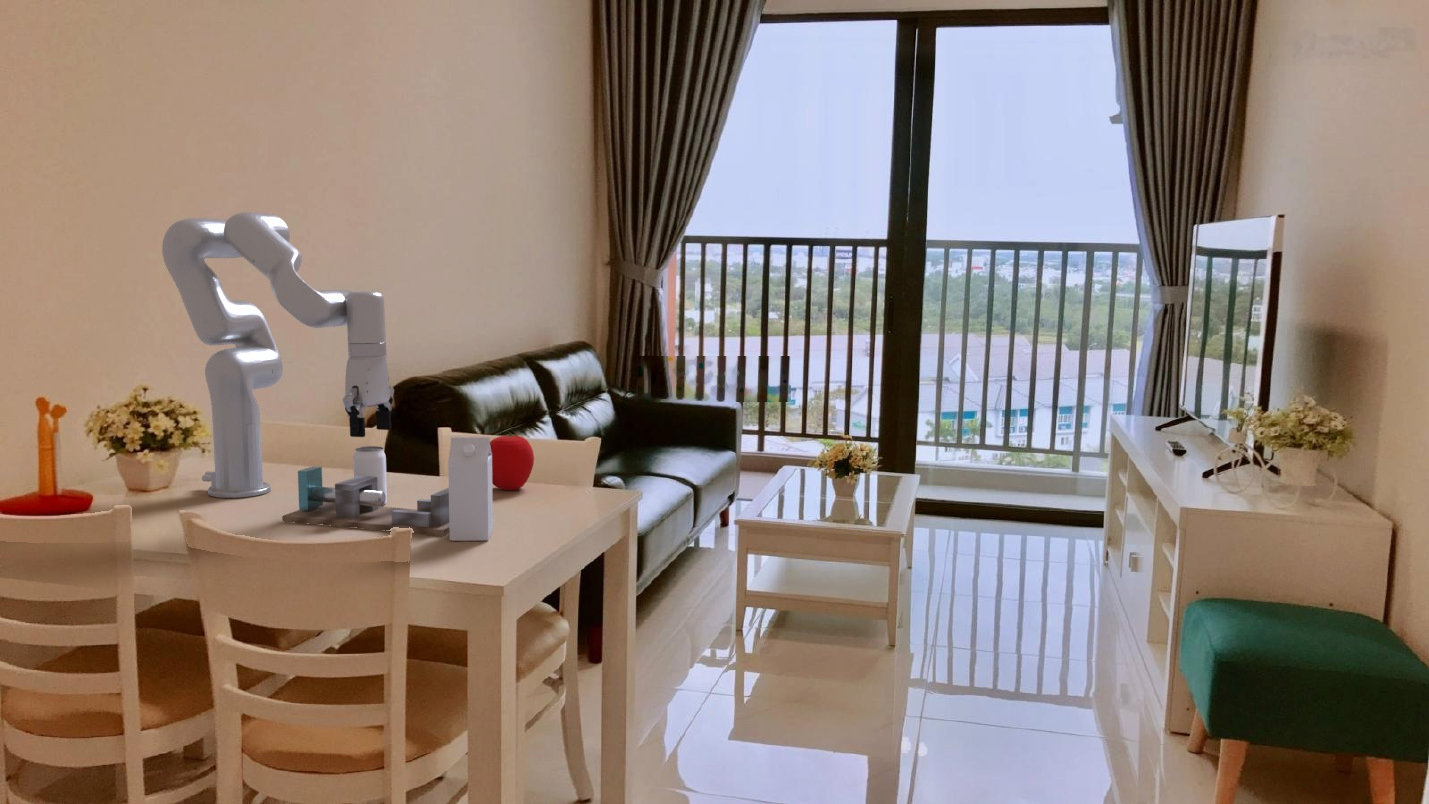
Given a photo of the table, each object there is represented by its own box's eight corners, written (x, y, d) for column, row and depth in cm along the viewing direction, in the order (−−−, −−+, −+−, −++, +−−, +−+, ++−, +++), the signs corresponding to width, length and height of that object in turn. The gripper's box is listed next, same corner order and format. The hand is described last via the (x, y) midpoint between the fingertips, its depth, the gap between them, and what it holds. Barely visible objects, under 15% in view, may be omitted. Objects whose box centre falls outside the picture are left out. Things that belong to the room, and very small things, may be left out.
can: (377, 508, 226) (375, 452, 225) (348, 507, 228) (347, 450, 226) (392, 502, 233) (391, 446, 231) (364, 500, 234) (363, 445, 232)
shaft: (299, 509, 218) (297, 470, 217) (314, 504, 223) (313, 466, 222) (374, 516, 214) (373, 476, 213) (388, 510, 218) (387, 471, 217)
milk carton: (455, 531, 209) (453, 434, 207) (492, 531, 210) (491, 434, 207) (449, 541, 202) (447, 440, 200) (488, 541, 203) (487, 440, 200)
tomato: (498, 496, 239) (498, 439, 238) (476, 488, 248) (475, 432, 246) (543, 490, 246) (543, 434, 245) (520, 482, 255) (519, 428, 253)
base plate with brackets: (282, 521, 214) (280, 482, 213) (322, 507, 227) (320, 470, 226) (443, 536, 206) (443, 495, 205) (475, 520, 218) (475, 481, 217)
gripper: (374, 347, 235) (377, 426, 237) (326, 354, 218) (330, 439, 221) (405, 348, 233) (408, 427, 235) (359, 355, 217) (363, 440, 219)
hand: (371, 433), depth 228 cm, fingers open, 9 cm apart
